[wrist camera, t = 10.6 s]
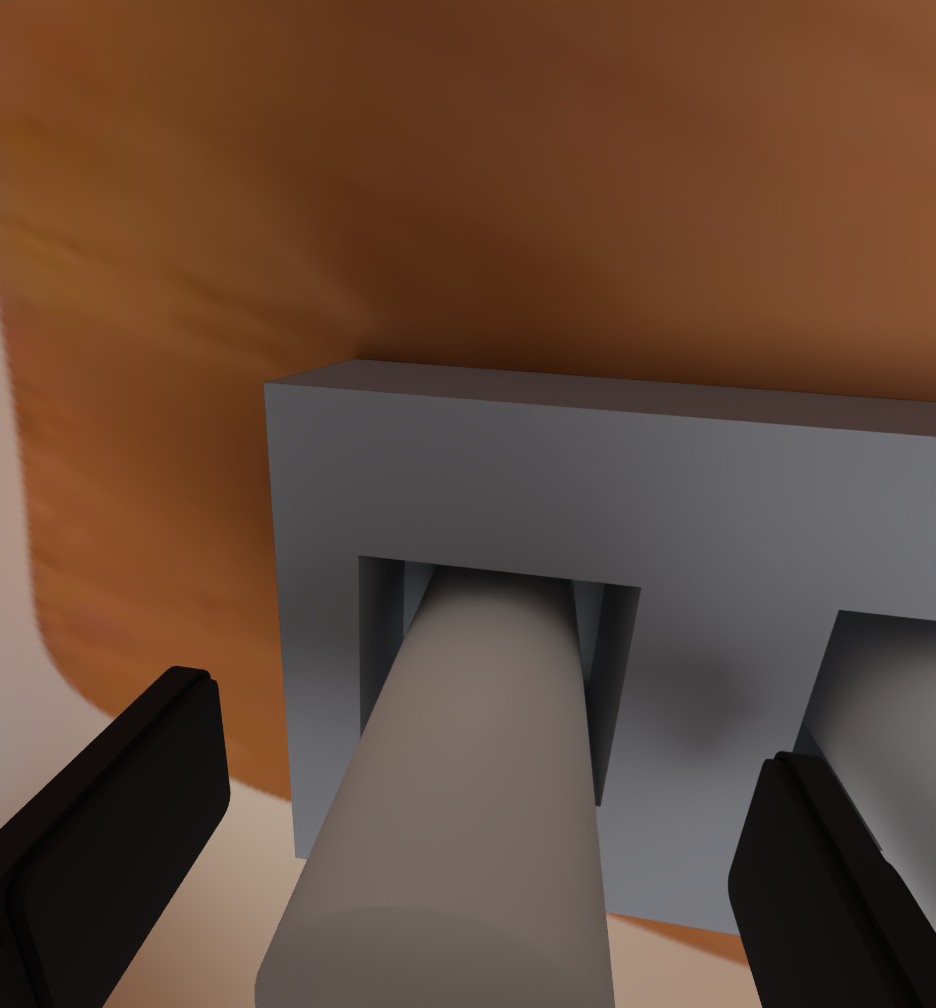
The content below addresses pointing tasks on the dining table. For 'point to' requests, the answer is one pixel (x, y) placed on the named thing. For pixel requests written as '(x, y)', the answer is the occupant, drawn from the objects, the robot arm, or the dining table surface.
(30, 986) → the robot arm
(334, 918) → the peg
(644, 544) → the socket block
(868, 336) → the dining table surface
